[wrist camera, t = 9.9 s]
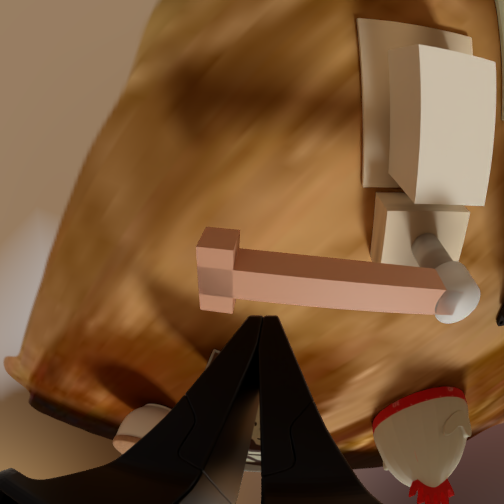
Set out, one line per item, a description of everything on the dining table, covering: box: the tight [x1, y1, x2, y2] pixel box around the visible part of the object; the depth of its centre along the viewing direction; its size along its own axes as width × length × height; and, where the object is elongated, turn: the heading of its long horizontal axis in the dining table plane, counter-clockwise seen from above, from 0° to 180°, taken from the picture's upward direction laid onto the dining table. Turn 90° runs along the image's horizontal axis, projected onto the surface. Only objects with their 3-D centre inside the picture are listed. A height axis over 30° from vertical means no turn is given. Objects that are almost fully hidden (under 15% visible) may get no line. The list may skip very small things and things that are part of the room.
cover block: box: [388, 44, 496, 206], centre depth 14 cm, size 5×8×5 cm, turn 6°
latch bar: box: [196, 227, 480, 323], centre depth 14 cm, size 4×14×2 cm, turn 87°
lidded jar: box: [113, 404, 171, 454], centre depth 36 cm, size 11×11×9 cm
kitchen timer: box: [372, 386, 471, 504], centre depth 28 cm, size 14×14×15 cm
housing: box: [356, 18, 473, 269], centre depth 15 cm, size 8×16×7 cm, turn 6°
